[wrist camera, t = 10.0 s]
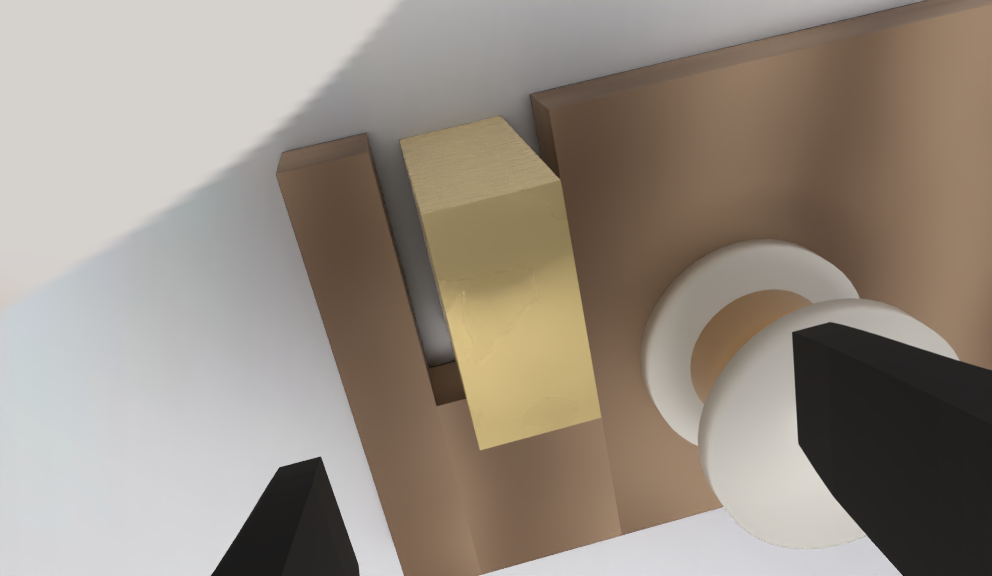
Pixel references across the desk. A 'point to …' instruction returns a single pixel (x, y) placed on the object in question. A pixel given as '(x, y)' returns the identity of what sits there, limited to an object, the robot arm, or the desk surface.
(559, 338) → the brass tab
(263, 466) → the desk surface
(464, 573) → the notched board
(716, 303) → the bobbin
